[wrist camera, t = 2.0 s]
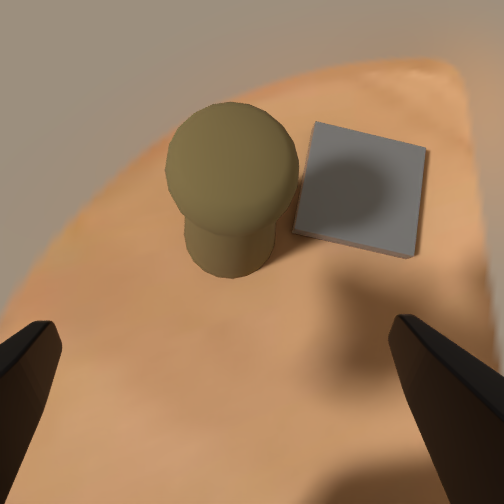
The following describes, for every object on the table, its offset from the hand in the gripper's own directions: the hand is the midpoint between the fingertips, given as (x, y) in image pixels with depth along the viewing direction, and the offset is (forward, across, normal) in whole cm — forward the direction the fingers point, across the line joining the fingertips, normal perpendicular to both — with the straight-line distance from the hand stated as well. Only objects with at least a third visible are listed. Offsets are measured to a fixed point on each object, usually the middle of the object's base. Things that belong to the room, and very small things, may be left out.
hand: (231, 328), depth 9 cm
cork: (+13, 0, +5) cm, 14 cm away
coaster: (+15, -9, +2) cm, 18 cm away
